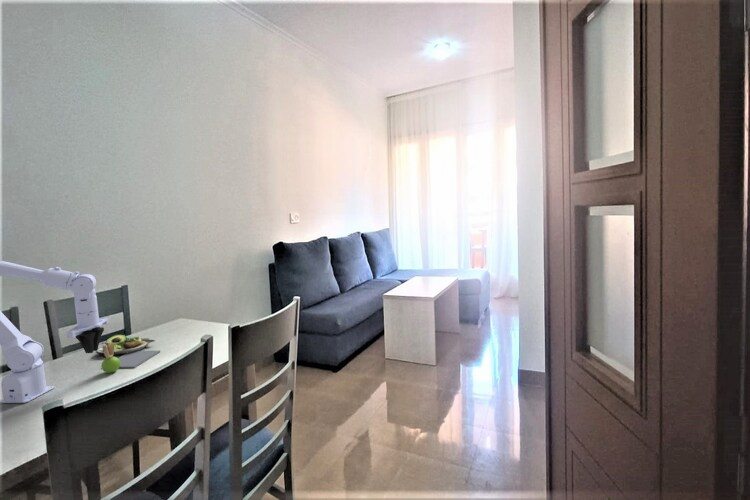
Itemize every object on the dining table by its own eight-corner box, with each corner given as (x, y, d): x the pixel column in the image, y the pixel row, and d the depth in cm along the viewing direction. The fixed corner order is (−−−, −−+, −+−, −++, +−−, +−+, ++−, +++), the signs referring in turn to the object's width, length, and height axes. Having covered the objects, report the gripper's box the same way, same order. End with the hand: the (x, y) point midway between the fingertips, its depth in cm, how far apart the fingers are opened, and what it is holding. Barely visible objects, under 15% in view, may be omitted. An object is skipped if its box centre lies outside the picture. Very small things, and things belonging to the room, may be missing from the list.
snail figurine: (98, 377, 125) (94, 343, 124) (106, 369, 131) (102, 337, 130) (116, 375, 127) (112, 341, 125) (123, 367, 133) (120, 335, 131)
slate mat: (134, 368, 132) (134, 366, 132) (102, 368, 133) (102, 366, 133) (160, 351, 147) (160, 350, 147) (131, 352, 148) (131, 350, 148)
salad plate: (163, 338, 162) (162, 328, 161) (144, 352, 144) (143, 341, 144) (116, 343, 159) (115, 332, 159) (90, 358, 142) (88, 346, 141)
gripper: (80, 317, 112) (85, 360, 114) (115, 305, 126) (119, 343, 128) (58, 318, 112) (63, 360, 114) (95, 305, 127) (100, 343, 128)
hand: (91, 351), depth 121 cm, fingers closed
